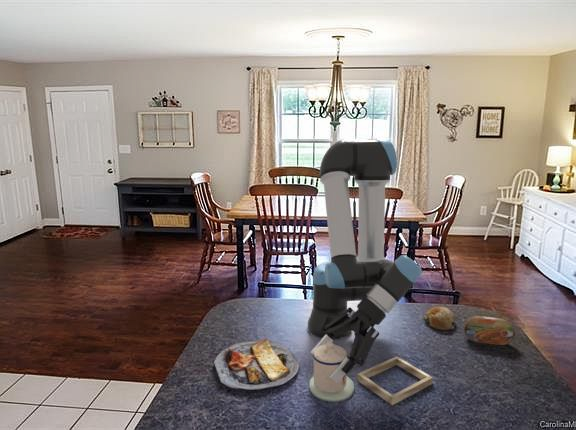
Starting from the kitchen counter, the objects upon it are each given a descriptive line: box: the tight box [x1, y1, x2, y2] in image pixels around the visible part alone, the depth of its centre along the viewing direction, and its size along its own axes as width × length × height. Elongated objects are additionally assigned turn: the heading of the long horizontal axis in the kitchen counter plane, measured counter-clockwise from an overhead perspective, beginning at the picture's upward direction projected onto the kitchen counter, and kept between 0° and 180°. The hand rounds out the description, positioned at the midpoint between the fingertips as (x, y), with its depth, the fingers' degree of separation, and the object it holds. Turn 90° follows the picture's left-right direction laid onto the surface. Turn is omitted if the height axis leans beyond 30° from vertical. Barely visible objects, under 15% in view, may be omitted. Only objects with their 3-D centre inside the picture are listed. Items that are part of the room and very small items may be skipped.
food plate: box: [213, 338, 300, 391], centre depth 127 cm, size 25×23×4 cm
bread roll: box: [423, 306, 456, 331], centre depth 154 cm, size 10×10×8 cm
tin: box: [463, 315, 516, 346], centre depth 141 cm, size 15×3×8 cm, turn 73°
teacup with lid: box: [312, 342, 348, 393], centre depth 116 cm, size 12×9×12 cm
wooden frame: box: [356, 355, 434, 406], centre depth 120 cm, size 13×16×2 cm
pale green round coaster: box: [309, 375, 355, 403], centre depth 118 cm, size 12×12×1 cm
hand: (323, 367), depth 116 cm, fingers closed on teacup with lid, 12 cm apart
